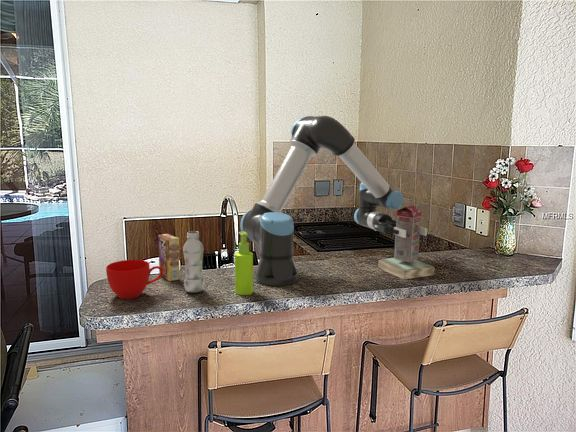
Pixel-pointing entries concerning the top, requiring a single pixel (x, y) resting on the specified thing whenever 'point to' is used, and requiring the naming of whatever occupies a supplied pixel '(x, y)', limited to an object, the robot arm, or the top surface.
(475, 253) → the top surface
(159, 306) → the top surface
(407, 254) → the juice carton
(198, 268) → the plastic bottle
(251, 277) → the soap dispenser
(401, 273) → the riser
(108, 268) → the ceramic cup
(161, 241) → the candy box
